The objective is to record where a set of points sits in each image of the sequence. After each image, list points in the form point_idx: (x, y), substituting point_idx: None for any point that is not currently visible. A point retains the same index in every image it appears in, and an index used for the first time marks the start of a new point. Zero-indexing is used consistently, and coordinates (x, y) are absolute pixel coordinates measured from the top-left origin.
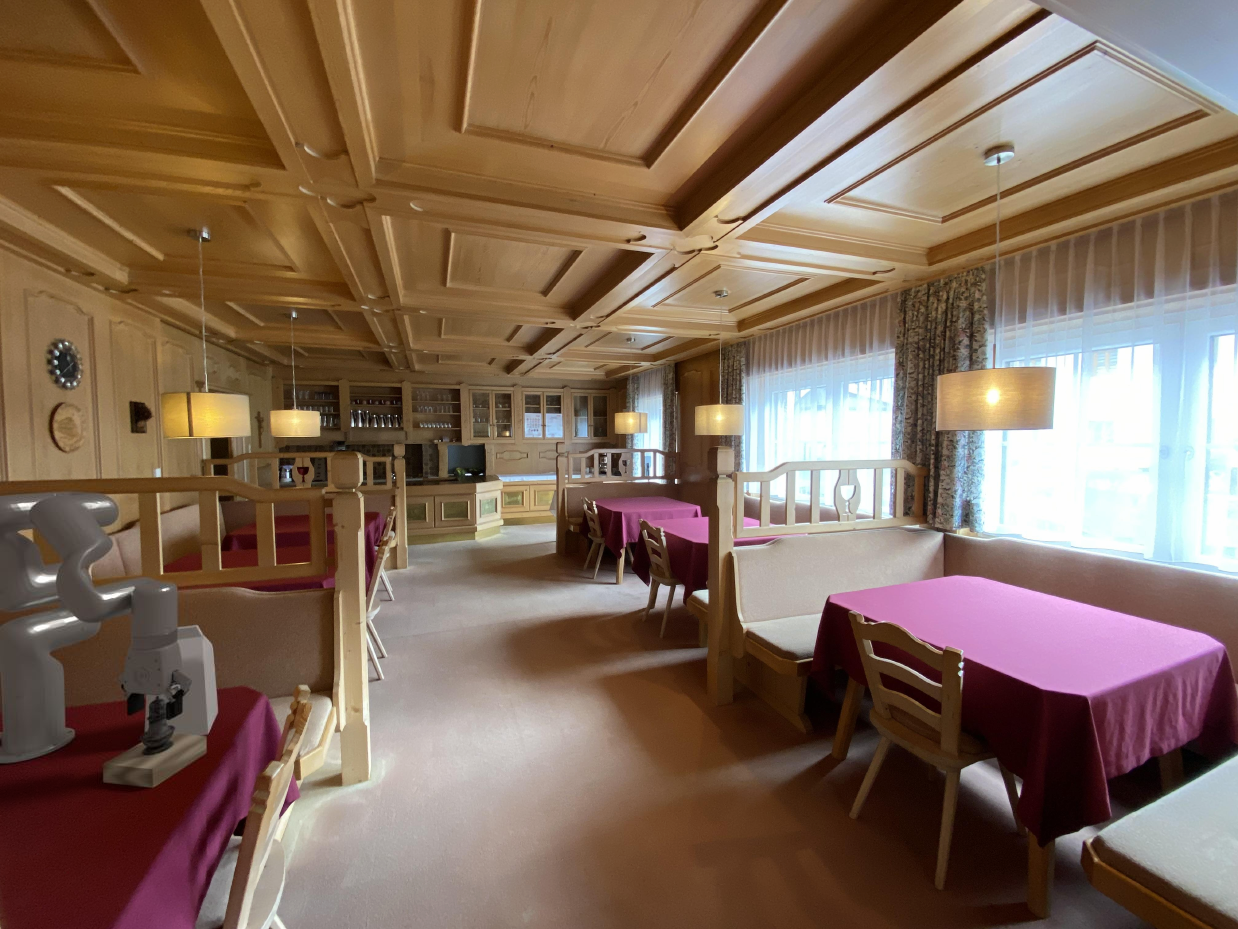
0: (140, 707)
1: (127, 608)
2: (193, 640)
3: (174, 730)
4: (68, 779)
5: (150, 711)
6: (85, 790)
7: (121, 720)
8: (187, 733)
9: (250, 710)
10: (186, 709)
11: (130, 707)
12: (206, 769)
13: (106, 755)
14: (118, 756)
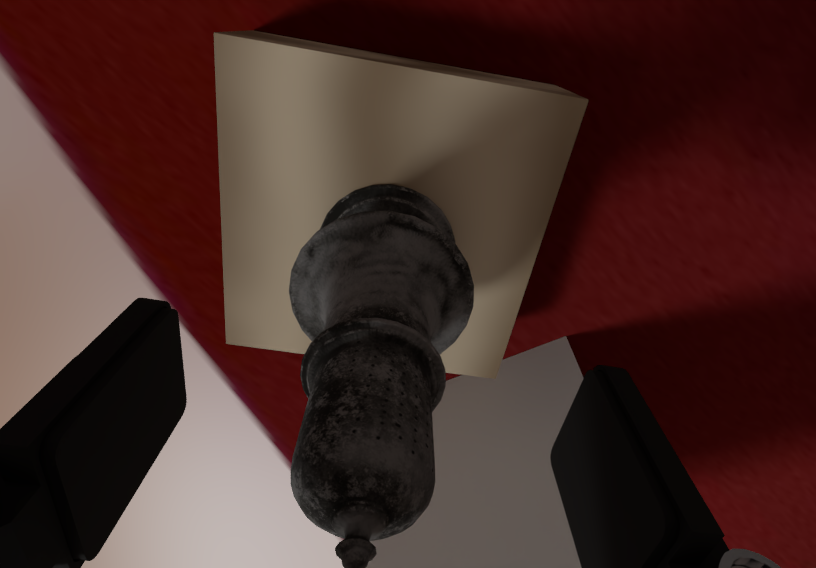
0: (567, 456)
1: None
2: None
3: (475, 406)
4: (750, 113)
5: (381, 388)
6: (599, 14)
7: (778, 481)
8: None
9: None
10: (442, 501)
11: (620, 428)
12: (132, 181)
13: (690, 287)
14: (552, 177)
